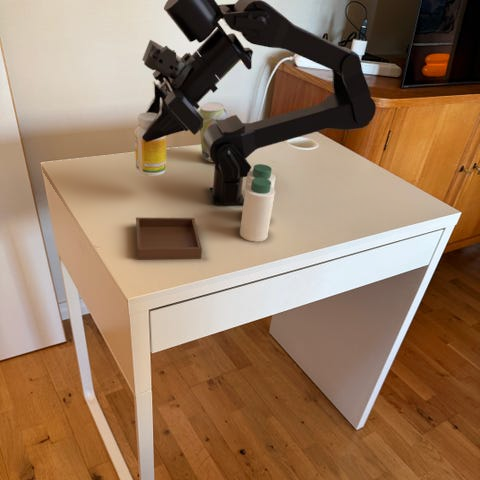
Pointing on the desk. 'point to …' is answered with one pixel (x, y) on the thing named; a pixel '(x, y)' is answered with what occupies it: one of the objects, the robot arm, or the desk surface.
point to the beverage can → (210, 121)
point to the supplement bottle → (149, 149)
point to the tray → (167, 238)
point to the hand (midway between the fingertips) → (142, 133)
